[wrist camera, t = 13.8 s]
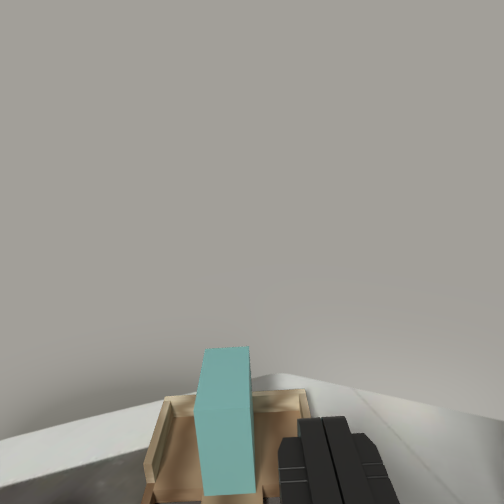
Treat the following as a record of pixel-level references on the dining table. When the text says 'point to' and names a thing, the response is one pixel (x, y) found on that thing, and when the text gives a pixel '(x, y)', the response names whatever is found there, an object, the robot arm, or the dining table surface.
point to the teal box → (225, 422)
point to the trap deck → (187, 455)
